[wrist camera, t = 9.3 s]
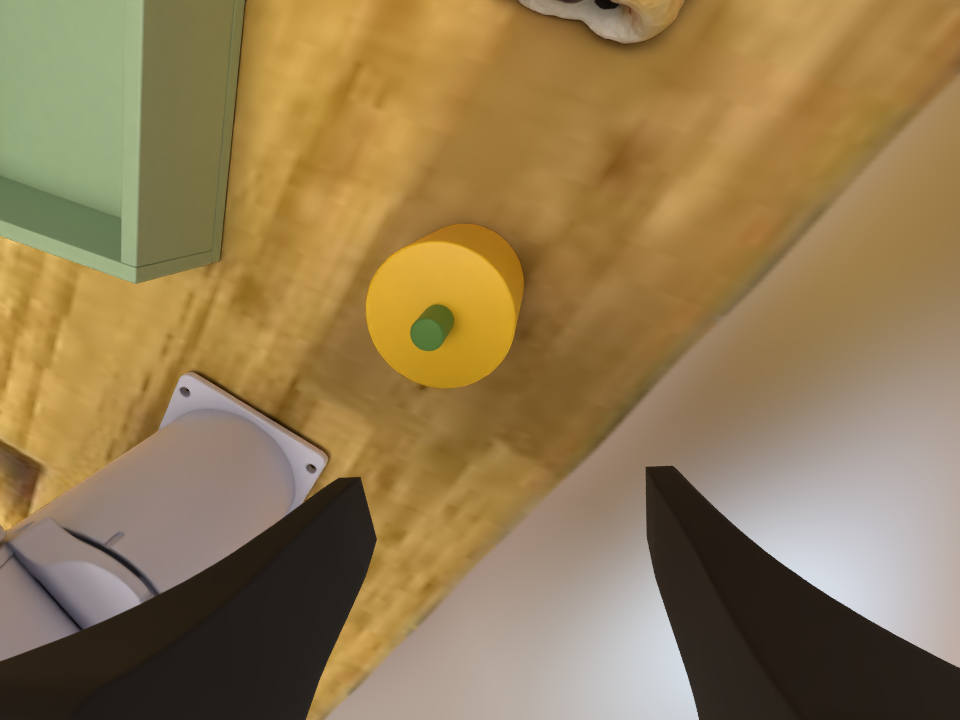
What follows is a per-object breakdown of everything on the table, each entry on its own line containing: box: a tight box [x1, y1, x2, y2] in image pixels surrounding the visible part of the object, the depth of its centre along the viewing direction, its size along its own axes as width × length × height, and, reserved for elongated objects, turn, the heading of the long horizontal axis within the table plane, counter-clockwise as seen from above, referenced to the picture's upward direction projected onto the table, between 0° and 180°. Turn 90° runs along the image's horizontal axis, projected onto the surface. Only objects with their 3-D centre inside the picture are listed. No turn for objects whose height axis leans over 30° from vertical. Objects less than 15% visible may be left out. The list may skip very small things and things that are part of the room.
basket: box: [0, 0, 245, 284], centre depth 16 cm, size 12×12×5 cm
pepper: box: [366, 224, 524, 388], centre depth 16 cm, size 5×5×7 cm
